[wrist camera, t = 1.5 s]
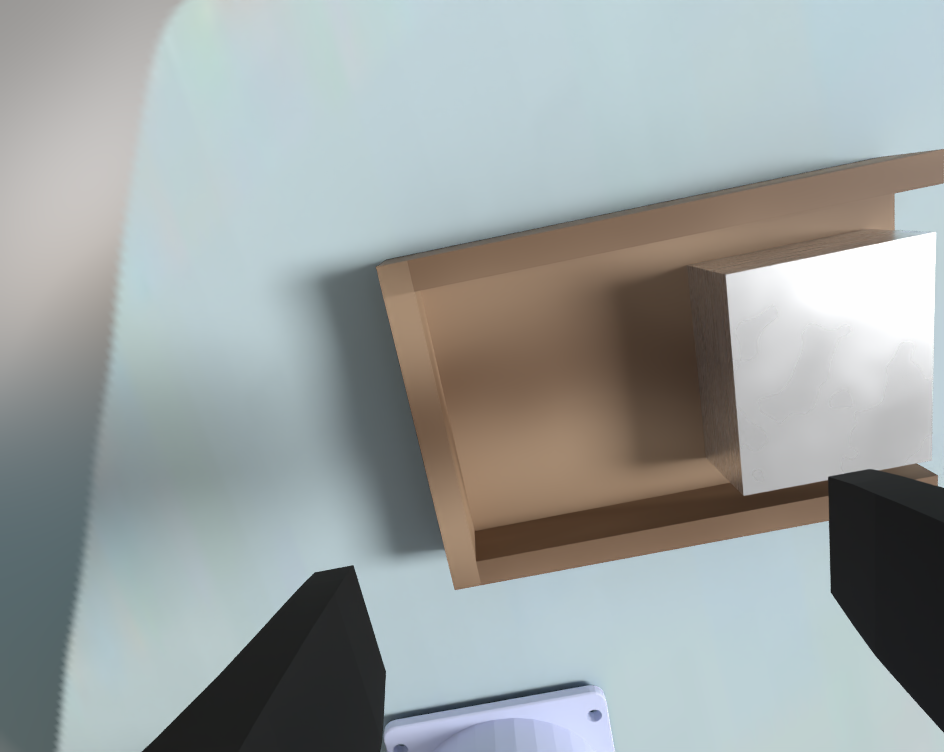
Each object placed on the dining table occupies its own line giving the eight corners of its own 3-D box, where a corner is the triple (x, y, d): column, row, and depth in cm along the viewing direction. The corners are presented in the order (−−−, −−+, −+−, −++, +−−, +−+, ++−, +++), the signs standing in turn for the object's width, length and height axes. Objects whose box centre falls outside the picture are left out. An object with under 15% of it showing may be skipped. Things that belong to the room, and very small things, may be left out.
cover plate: (868, 426, 18) (931, 460, 16) (706, 458, 18) (743, 495, 16) (865, 228, 16) (935, 232, 14) (687, 265, 16) (725, 274, 14)
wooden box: (884, 467, 19) (937, 500, 17) (455, 548, 19) (454, 590, 17) (881, 156, 16) (944, 149, 14) (386, 259, 17) (375, 267, 15)
